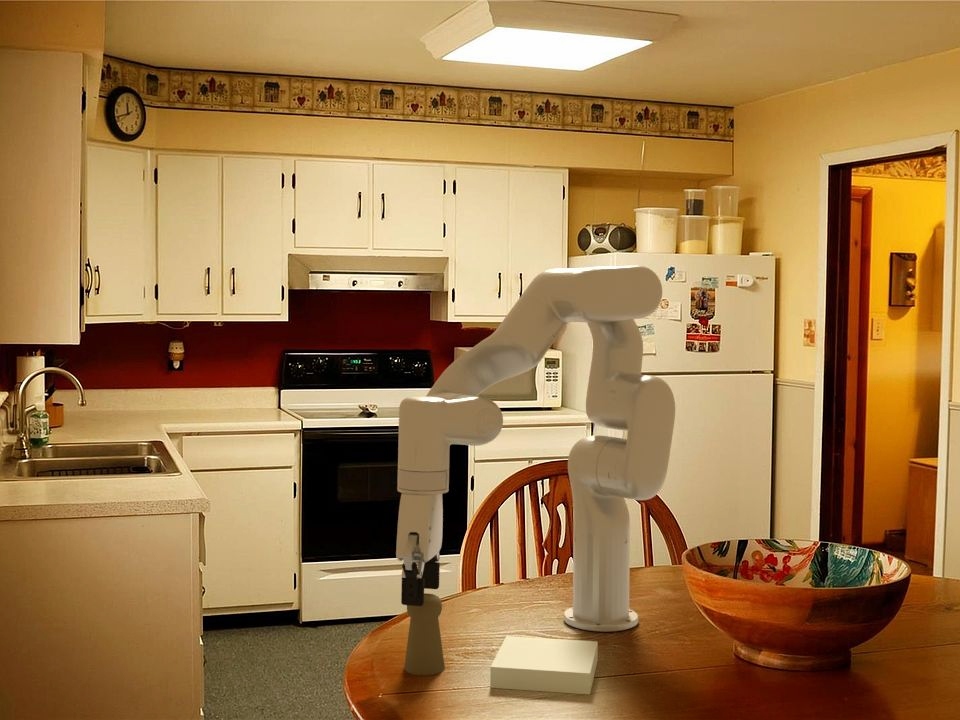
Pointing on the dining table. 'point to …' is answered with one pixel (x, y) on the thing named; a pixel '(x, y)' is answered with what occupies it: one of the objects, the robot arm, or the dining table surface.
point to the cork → (424, 638)
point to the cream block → (545, 665)
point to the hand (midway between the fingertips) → (420, 596)
